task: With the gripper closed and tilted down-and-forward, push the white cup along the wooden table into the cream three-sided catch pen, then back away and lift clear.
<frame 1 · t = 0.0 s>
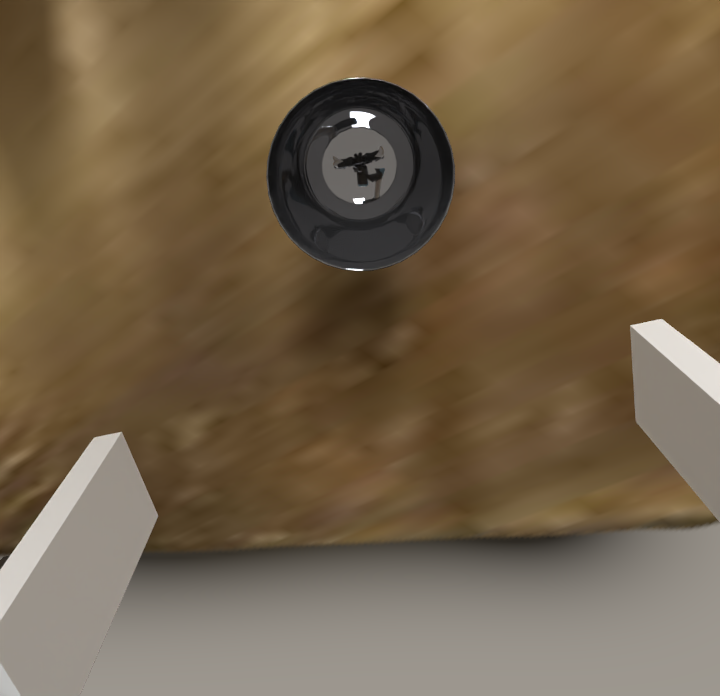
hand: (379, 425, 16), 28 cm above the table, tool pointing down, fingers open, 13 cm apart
wine glass: (356, 144, 40), on the table
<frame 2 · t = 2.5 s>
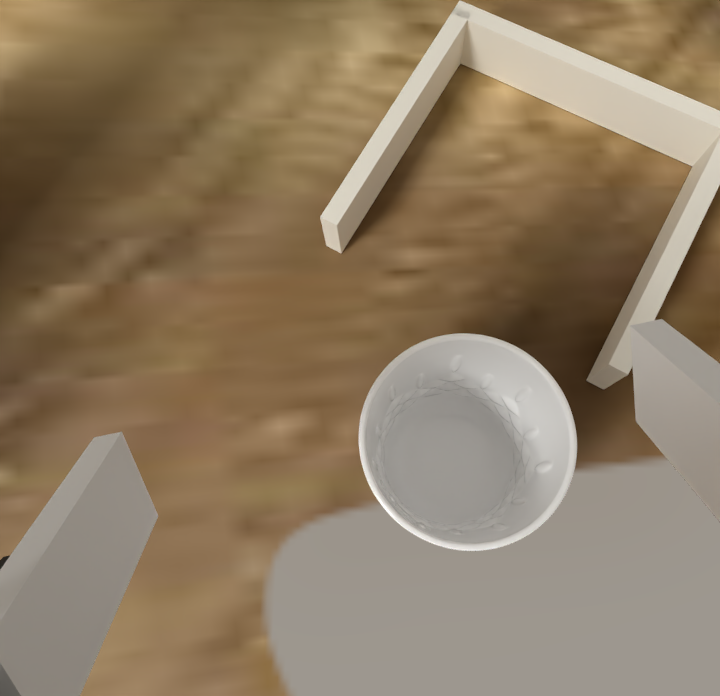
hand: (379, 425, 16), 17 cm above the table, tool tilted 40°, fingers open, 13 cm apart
white cup: (443, 463, 33), on the table
catch pen: (520, 206, 36), on the table
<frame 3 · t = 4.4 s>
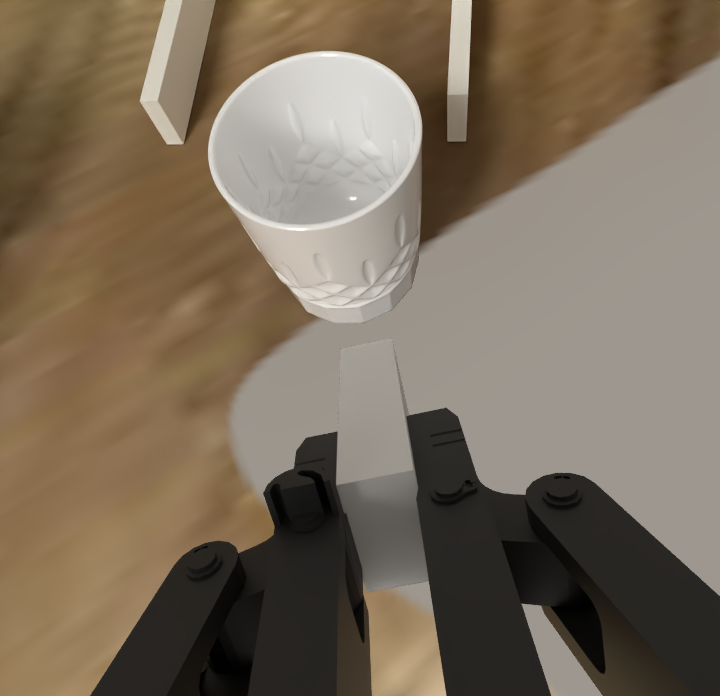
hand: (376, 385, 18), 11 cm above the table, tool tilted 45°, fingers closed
white cup: (352, 266, 32), on the table
catch pen: (325, 39, 38), on the table
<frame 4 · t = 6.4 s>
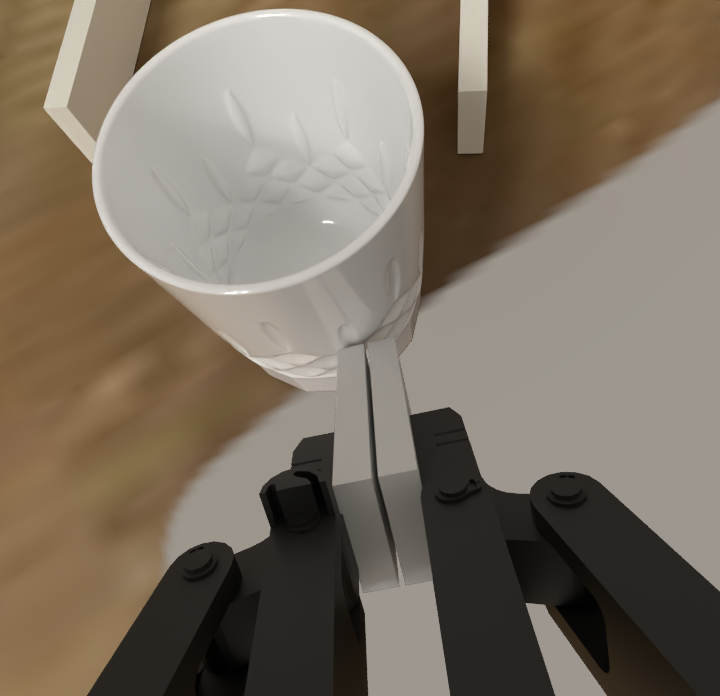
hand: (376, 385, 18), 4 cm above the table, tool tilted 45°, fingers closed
white cup: (331, 310, 24), on the table, touching gripper
catch pen: (296, 20, 29), on the table
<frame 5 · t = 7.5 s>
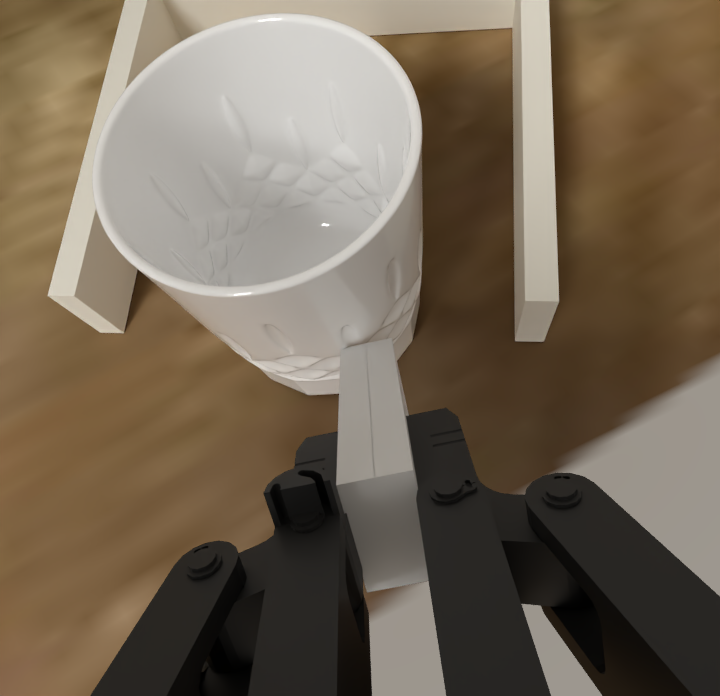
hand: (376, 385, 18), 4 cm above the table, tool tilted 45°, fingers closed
white cup: (331, 313, 24), on the table, touching gripper
catch pen: (328, 168, 26), on the table
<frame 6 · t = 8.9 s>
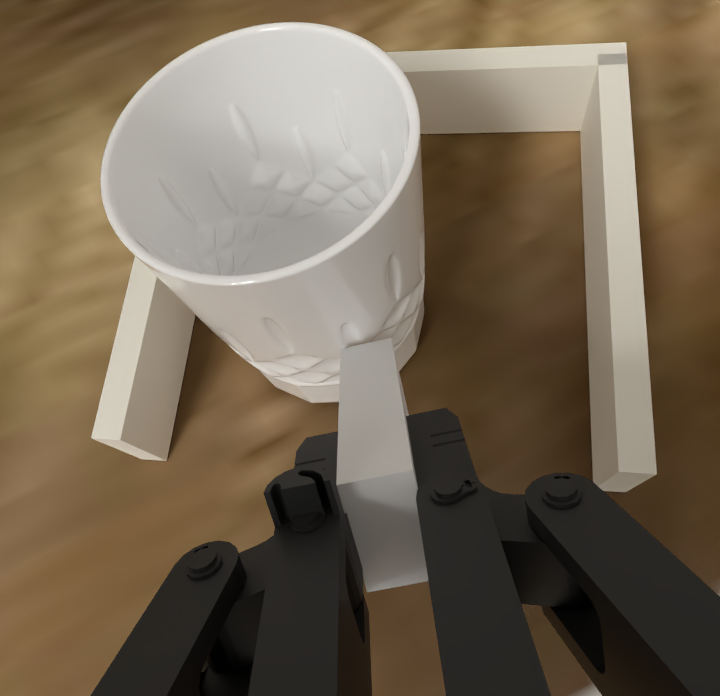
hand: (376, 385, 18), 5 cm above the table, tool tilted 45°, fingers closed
white cup: (336, 323, 24), on the table, touching gripper
catch pen: (384, 281, 25), on the table
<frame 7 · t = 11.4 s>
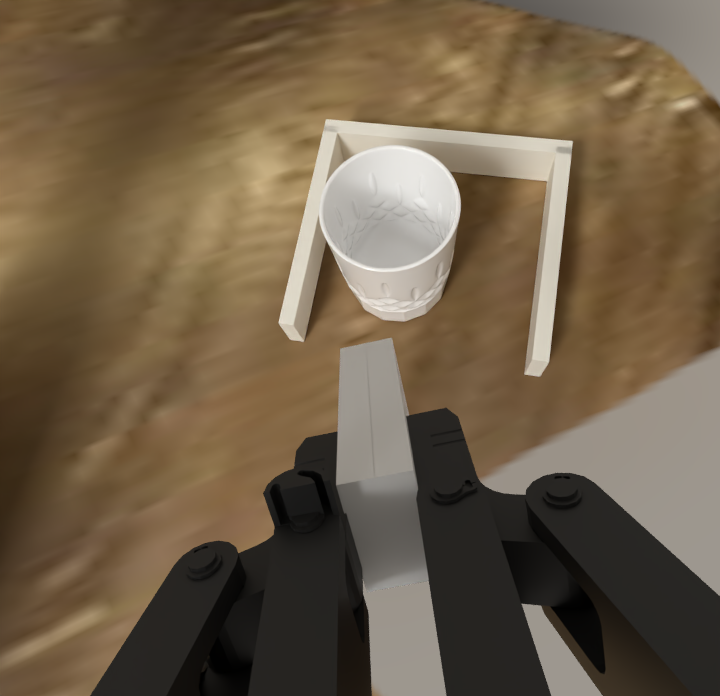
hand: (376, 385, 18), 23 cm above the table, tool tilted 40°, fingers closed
white cup: (398, 278, 45), on the table
catch pen: (428, 256, 45), on the table
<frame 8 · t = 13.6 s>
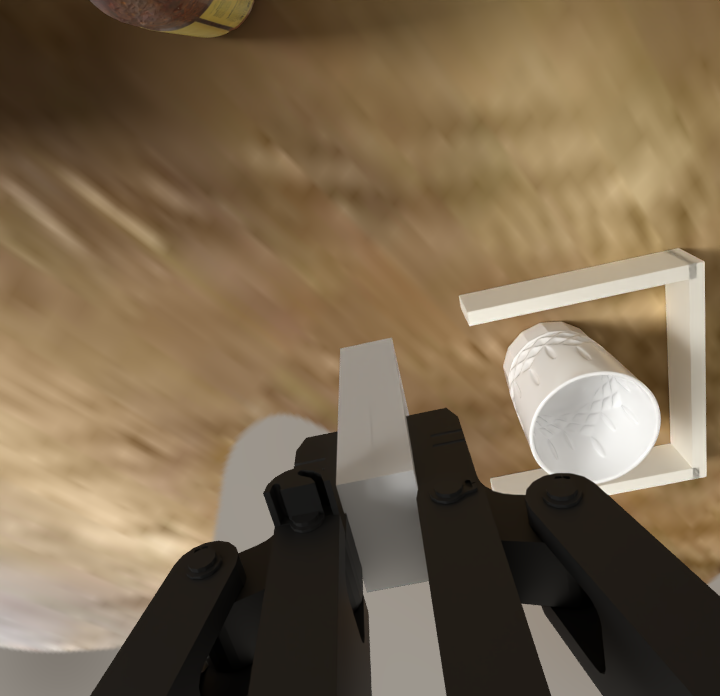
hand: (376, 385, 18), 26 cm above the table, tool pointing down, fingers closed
white cup: (546, 361, 47), on the table
catch pen: (574, 378, 48), on the table
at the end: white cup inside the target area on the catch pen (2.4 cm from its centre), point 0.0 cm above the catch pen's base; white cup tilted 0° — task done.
